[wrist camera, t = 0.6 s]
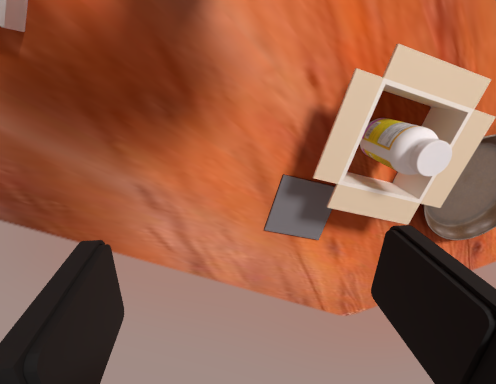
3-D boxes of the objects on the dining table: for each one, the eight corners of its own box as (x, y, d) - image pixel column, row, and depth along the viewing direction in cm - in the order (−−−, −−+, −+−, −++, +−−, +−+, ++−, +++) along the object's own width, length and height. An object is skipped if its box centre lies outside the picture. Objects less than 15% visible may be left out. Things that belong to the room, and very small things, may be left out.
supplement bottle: (393, 152, 47) (454, 179, 35) (357, 159, 46) (406, 188, 35) (397, 113, 44) (465, 128, 32) (358, 120, 43) (412, 137, 32)
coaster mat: (283, 174, 46) (283, 175, 45) (340, 187, 48) (341, 188, 48) (264, 229, 50) (264, 230, 49) (317, 238, 52) (318, 239, 52)
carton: (344, 39, 38) (370, 32, 32) (469, 85, 43) (513, 88, 37) (291, 184, 47) (303, 202, 40) (401, 209, 52) (427, 228, 45)
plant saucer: (456, 114, 45) (474, 117, 42) (538, 151, 50) (558, 156, 47) (392, 217, 53) (403, 226, 50) (470, 240, 58) (484, 249, 55)
